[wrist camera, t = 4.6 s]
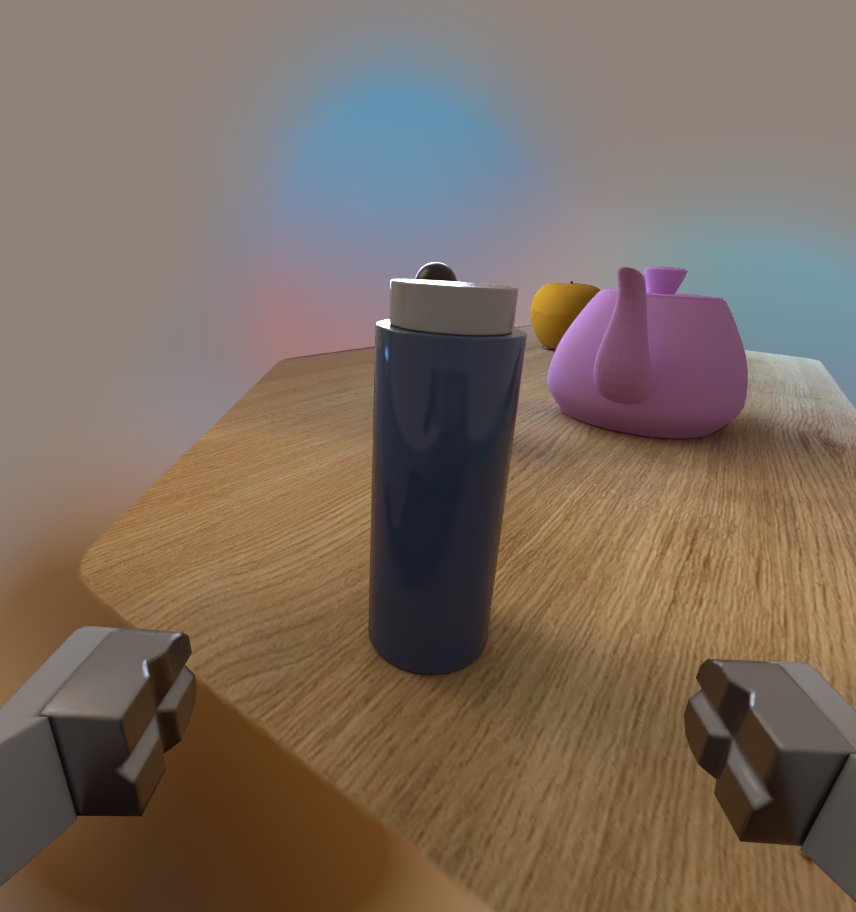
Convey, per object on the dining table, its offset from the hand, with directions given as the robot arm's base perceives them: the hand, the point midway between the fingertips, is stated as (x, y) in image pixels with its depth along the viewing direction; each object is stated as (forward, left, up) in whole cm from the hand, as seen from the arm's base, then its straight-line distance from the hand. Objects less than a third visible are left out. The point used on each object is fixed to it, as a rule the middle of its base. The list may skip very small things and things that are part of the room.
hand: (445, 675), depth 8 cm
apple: (-35, +79, -7) cm, 86 cm away
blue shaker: (-6, +7, -7) cm, 11 cm away
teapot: (-11, +44, -7) cm, 46 cm away
